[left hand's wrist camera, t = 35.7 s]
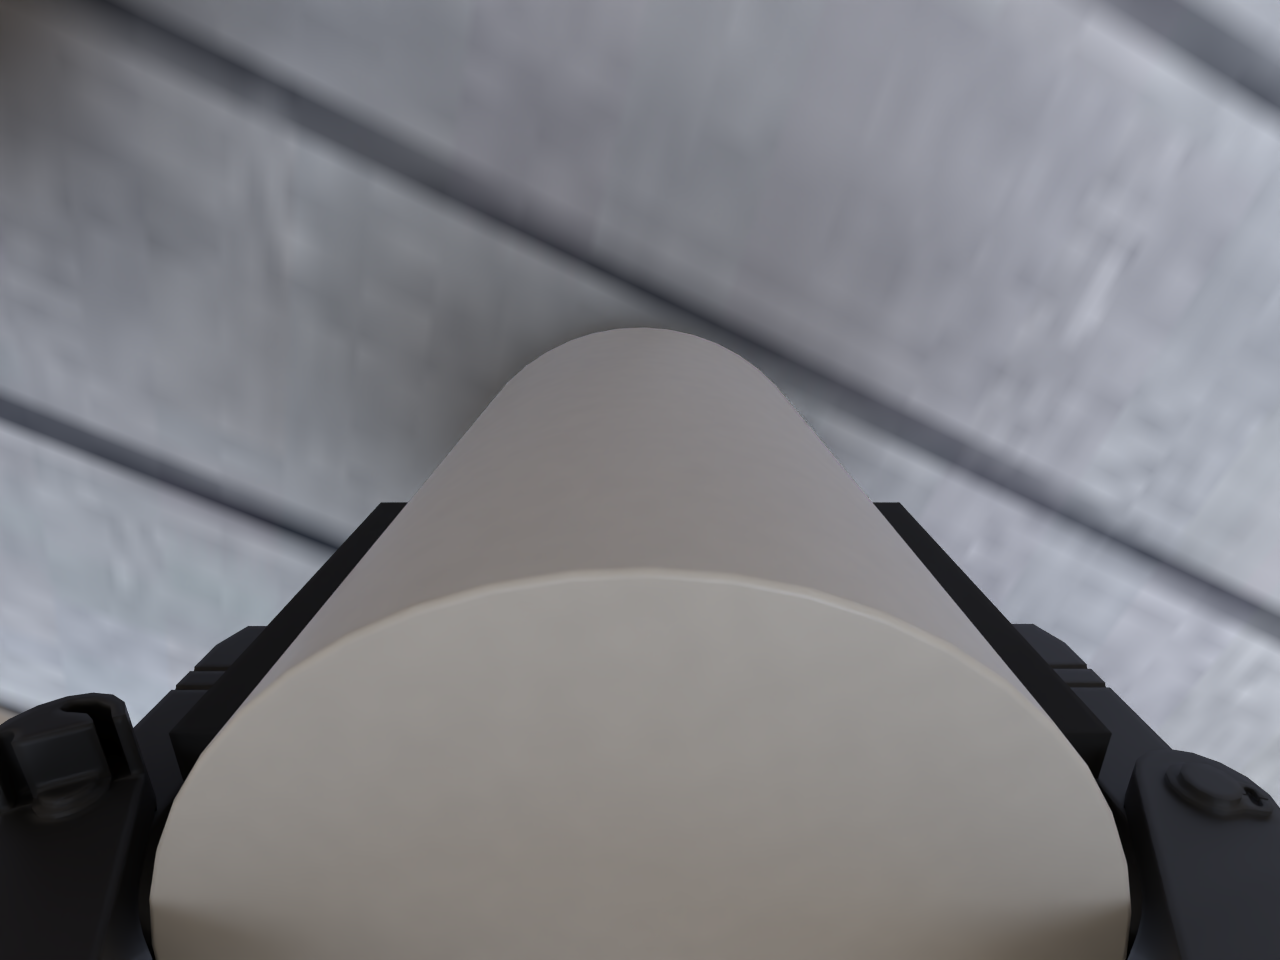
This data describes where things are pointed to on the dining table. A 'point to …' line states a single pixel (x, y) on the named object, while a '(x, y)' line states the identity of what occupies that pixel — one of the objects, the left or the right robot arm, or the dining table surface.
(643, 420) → the canister
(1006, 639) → the left robot arm
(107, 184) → the dining table surface
